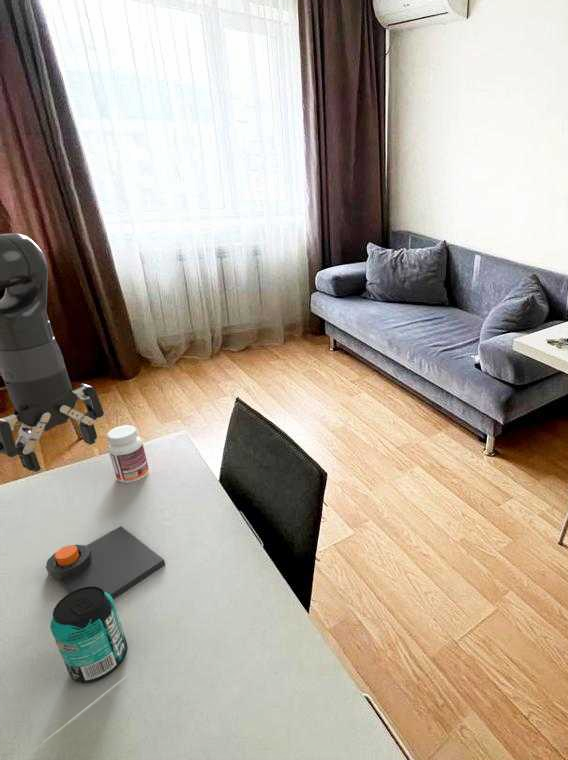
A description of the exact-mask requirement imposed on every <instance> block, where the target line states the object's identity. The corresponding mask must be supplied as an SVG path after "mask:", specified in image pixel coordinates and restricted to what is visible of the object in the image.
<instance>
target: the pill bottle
mask: <svg viewBox="0 0 568 760" xmlns="http://www.w3.org/2000/svg"><path fill="white" fill-rule="evenodd" d="M138 435H139V434H138V431H137V428H136V426H134V425H132V424H131V425H130V424H129V425H128V424H124V425H119V426H116V427H113V428H112V429H110V430H109V431H108V432H107V434H106V437H107V441H108V443H109V444H108V446H107V447H108V448H107V451H108V455H109V457H110V460H111V464H112V467H113V472H114V474H115V478H116V480H117V481H118V482H120V483H126V484H129V483H134V482H138V481H139V480H142V479H143V478H144V477H146V476H147V475H148V473H150V472H149V471H150V468H149V463H148V459H147V455H146V451H145V446H144V443H143V439H142V438H141V437H140V436H138Z"/></svg>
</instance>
